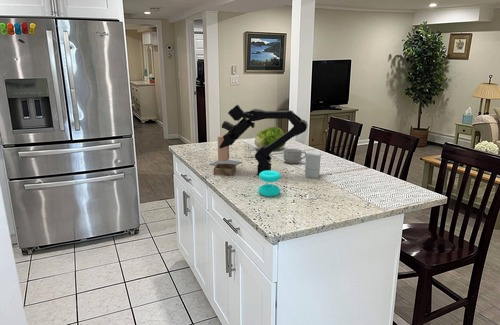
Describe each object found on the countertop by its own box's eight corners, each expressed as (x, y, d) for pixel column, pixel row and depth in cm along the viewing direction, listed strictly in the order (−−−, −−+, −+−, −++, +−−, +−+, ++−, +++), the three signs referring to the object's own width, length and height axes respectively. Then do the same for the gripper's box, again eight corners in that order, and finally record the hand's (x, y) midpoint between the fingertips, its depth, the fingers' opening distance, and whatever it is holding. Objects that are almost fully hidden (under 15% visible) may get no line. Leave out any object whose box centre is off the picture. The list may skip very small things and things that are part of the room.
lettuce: (253, 150, 263) (248, 131, 256) (279, 139, 268) (275, 120, 261) (263, 159, 250) (258, 140, 242) (290, 147, 255) (286, 128, 247)
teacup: (280, 163, 223) (280, 150, 221) (287, 159, 232) (287, 146, 230) (302, 166, 217) (302, 153, 215) (308, 162, 226) (309, 149, 224)
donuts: (276, 169, 177) (284, 175, 167) (275, 189, 179) (283, 196, 170) (256, 170, 174) (262, 176, 165) (255, 190, 177) (262, 198, 168)
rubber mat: (242, 162, 223) (242, 161, 223) (229, 168, 212) (229, 167, 212) (222, 159, 230) (222, 158, 230) (209, 164, 218) (209, 164, 218)
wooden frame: (235, 170, 208) (236, 164, 207) (232, 175, 198) (232, 169, 197) (217, 169, 209) (217, 163, 209) (213, 174, 200) (213, 168, 199)
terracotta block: (229, 158, 206) (229, 135, 202) (227, 161, 201) (227, 137, 198) (220, 158, 207) (220, 135, 203) (218, 160, 202) (217, 136, 199)
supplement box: (319, 174, 203) (321, 151, 199) (318, 178, 196) (320, 155, 192) (306, 173, 205) (307, 150, 201) (304, 177, 198) (305, 154, 194)
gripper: (234, 113, 206) (215, 132, 211) (226, 119, 188) (205, 139, 193) (248, 128, 207) (228, 147, 211) (241, 135, 189) (220, 155, 194)
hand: (221, 146), depth 202 cm, fingers closed on terracotta block, 5 cm apart
